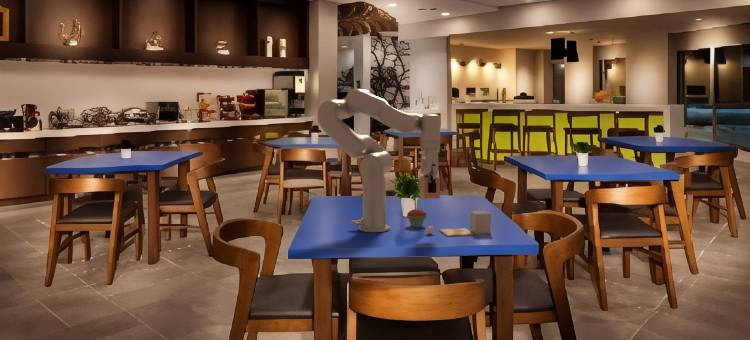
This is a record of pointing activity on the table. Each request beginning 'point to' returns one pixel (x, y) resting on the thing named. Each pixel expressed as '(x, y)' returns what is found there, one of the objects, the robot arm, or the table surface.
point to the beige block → (480, 222)
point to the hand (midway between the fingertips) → (429, 190)
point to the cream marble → (429, 230)
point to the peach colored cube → (424, 188)
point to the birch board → (456, 232)
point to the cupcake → (416, 217)
